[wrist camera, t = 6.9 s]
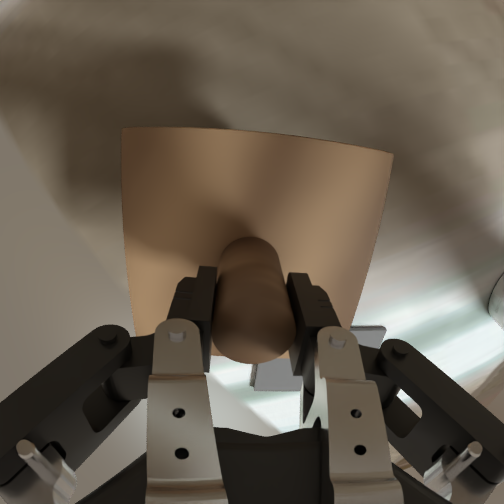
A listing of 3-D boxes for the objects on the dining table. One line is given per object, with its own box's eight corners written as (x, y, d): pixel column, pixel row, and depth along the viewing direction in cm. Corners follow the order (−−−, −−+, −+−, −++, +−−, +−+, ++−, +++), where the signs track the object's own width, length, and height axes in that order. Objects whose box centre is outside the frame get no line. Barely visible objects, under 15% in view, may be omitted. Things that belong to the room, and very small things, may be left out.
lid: (384, 151, 13) (461, 179, 8) (335, 347, 18) (361, 423, 13) (129, 127, 12) (60, 140, 7) (141, 336, 17) (115, 414, 12)
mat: (384, 327, 32) (386, 330, 31) (359, 384, 36) (360, 388, 36) (263, 325, 31) (263, 329, 30) (253, 387, 35) (254, 390, 35)
